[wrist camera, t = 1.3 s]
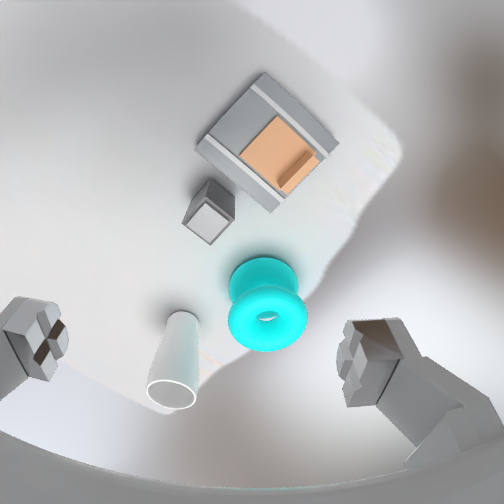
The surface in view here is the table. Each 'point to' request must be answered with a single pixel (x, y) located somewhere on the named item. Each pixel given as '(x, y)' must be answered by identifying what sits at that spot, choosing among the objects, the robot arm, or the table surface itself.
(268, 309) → the donuts
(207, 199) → the plug
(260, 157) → the block
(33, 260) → the table surface
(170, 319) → the drinking glass
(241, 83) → the table surface
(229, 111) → the socket plate
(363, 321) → the robot arm
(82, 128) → the table surface
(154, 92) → the table surface
